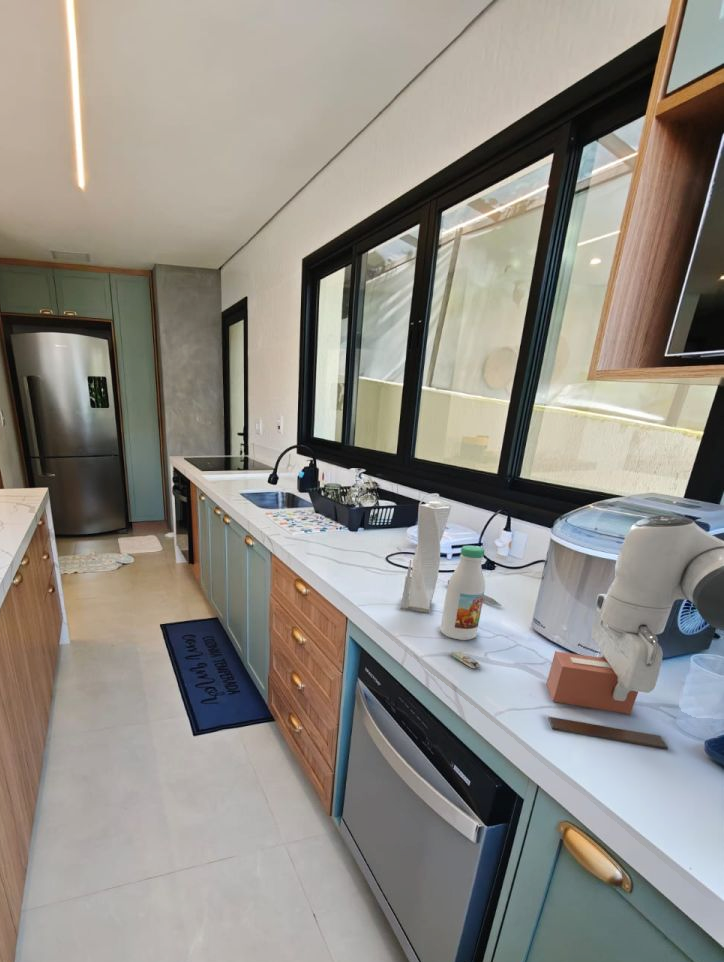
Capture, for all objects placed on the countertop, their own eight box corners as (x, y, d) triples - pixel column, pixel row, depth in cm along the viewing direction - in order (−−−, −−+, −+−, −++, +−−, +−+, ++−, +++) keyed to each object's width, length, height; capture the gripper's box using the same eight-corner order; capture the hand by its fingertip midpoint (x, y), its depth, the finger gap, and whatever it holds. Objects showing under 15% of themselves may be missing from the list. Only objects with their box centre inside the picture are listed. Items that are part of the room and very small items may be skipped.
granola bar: (448, 655, 103) (449, 650, 103) (456, 653, 104) (457, 648, 104) (473, 670, 98) (473, 665, 97) (481, 668, 98) (482, 663, 98)
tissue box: (546, 684, 94) (555, 650, 91) (619, 696, 91) (630, 661, 88) (552, 701, 88) (562, 665, 86) (630, 714, 85) (643, 677, 83)
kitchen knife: (446, 586, 143) (447, 579, 142) (449, 585, 143) (450, 579, 142) (499, 609, 128) (501, 601, 127) (502, 608, 128) (503, 601, 127)
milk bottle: (438, 636, 111) (452, 549, 104) (441, 623, 118) (455, 541, 111) (475, 643, 109) (492, 554, 101) (476, 629, 115) (492, 545, 108)
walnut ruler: (659, 737, 79) (660, 735, 79) (667, 749, 77) (668, 747, 76) (548, 718, 83) (548, 716, 83) (552, 728, 81) (552, 726, 81)
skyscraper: (403, 597, 133) (418, 491, 123) (435, 602, 131) (453, 494, 120) (400, 609, 126) (415, 496, 115) (433, 614, 123) (452, 500, 113)
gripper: (684, 644, 72) (654, 724, 78) (633, 596, 91) (612, 663, 96) (634, 637, 74) (608, 716, 79) (594, 591, 92) (575, 658, 97)
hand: (610, 687), depth 88 cm, fingers closed on tissue box, 6 cm apart
